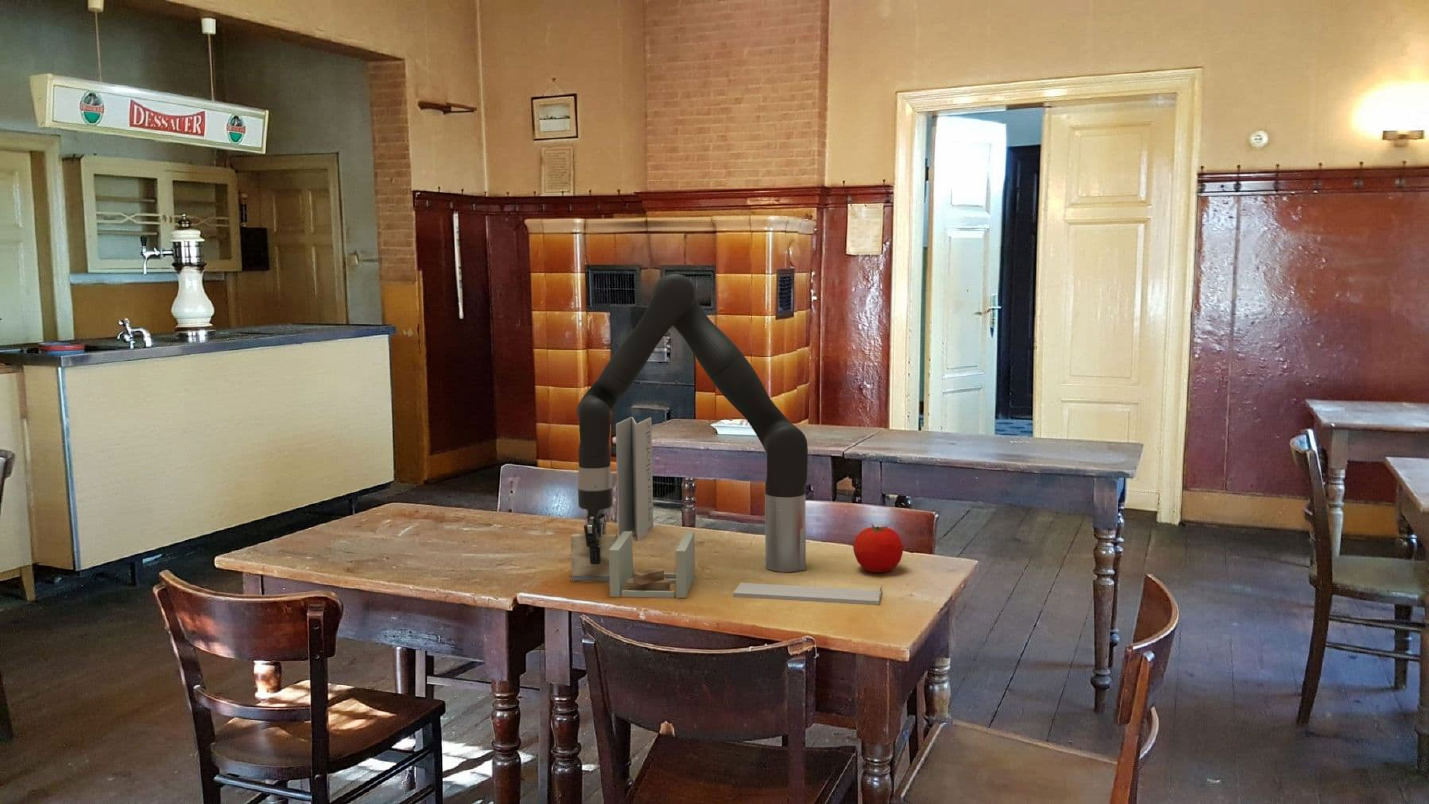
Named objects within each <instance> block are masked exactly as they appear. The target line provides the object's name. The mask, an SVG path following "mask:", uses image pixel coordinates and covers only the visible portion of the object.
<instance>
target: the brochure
mask: <svg viewBox="0 0 1429 804" xmlns="http://www.w3.org/2000/svg"><path fill="white" fill-rule="evenodd" d="M652 425H653V424H652V417H648V418H646V419H644V420H642V421H640V422H638V423H637V422H636V421H635V419H634V417H633V416H630V417H628V418H626V419H623V420H622V421H619V422H617V423H615V439H616V441H615V442H616V443H615V446H616V448H615V449H616V490H617V491H616V492H617V496H616V497H617V501H616V502H617V539H618V538H619V537H620V535H621V534H622V533H623V531H632V530H634V533H635V537H636V539H637V541H638V540H639V541H641V540H642V539H643V538H644V537H645V536H646V535H647V534H648V533H650V531H652V530H653V529H654V498H653V497H654V496H653V495H654V493H653V489H654V487H653V486H654V485H653V436H652V432H653V431H652ZM652 528H653V529H652ZM651 529H652V530H651Z"/></svg>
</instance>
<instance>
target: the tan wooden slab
mask: <svg viewBox="0 0 1429 804" xmlns="http://www.w3.org/2000/svg"><path fill="white" fill-rule="evenodd" d="M617 539H618V533H613V534H611V533H606V534H603V535H602V537H601V538H600V544H601V546H600V563H599V564H591V563H590V548H589V547H587V545H586V538H585V533H572V534H571V535H570V555H571V556H570V557H571V558H570V559H571V576H572V577H573V576H610V572H609V549H610V548H611V547H612V546H613V544H614V543H615V542H616V540H617ZM592 542H595V540H594V539H592Z"/></svg>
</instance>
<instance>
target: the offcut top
mask: <svg viewBox="0 0 1429 804" xmlns="http://www.w3.org/2000/svg"><path fill="white" fill-rule="evenodd" d="M664 573H665V570H664V569H662V568H659V567H652V568H648V569H644V570H639V571H635V572H634V571H633V576H632V578H633V582H635V583H637V584H640V585H643V584H647V583H651V582H655V581H659V580H664Z"/></svg>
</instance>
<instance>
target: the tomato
mask: <svg viewBox="0 0 1429 804" xmlns="http://www.w3.org/2000/svg"><path fill="white" fill-rule="evenodd" d="M852 548H853V549H852V550H853V553H854V557H855V560H856V561H857V563H858V564H859V566H860V567H861V568H863V569H864V570H866V571H868V572H870V573H885V572H889V571H890V570H892V569H894V568H896V567H897V566H898V565H899V564H900V563H901V560H902V557H903V553H904V545H903V543H902V540H901V537H900V534H899V533H898V532H897V531H896V530H894V529H892V528H890V527H889V526H888V525H886V526H874V524H873V523H871V526H870V527H866V528H864V529H863V530H861V531H859V533H858V534H857V535H856V536H855V539H854V543H853V544H852Z"/></svg>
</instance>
